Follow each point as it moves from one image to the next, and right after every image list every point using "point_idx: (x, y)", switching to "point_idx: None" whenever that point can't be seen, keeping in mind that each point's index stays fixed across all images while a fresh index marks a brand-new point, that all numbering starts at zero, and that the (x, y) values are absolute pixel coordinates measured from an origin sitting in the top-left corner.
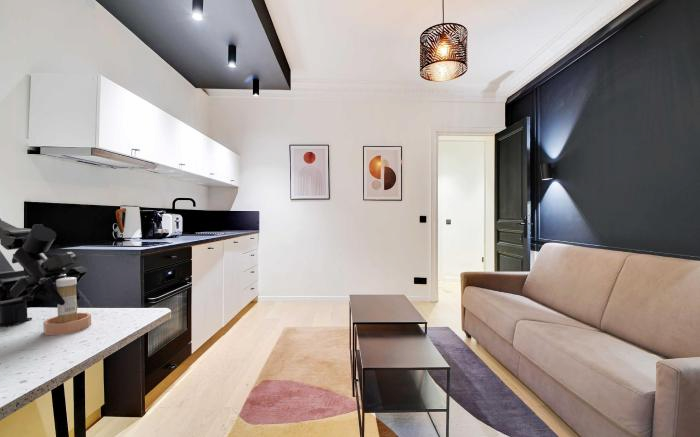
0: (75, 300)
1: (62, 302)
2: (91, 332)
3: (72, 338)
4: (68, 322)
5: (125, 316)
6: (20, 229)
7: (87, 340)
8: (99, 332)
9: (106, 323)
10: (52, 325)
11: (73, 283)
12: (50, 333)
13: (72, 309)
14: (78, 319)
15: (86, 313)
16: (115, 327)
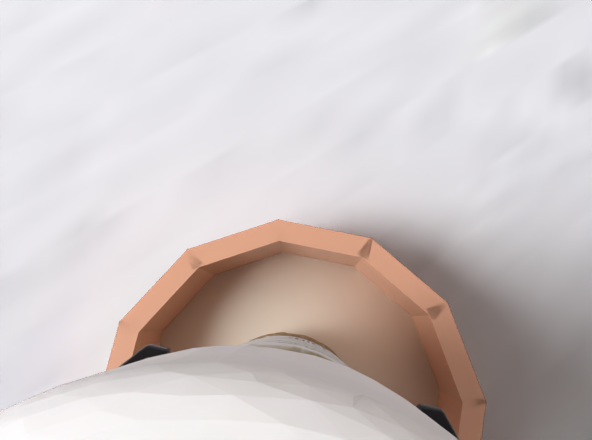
0: (268, 338)
1: (449, 431)
2: (408, 136)
3: (528, 195)
4: (433, 302)
5: (39, 97)
6: None
7: (569, 64)
8: (413, 78)
9: (204, 148)
10: (476, 430)
11: (303, 355)
12: None
13: (319, 346)
14: None
15: (142, 319)
16: (314, 27)
